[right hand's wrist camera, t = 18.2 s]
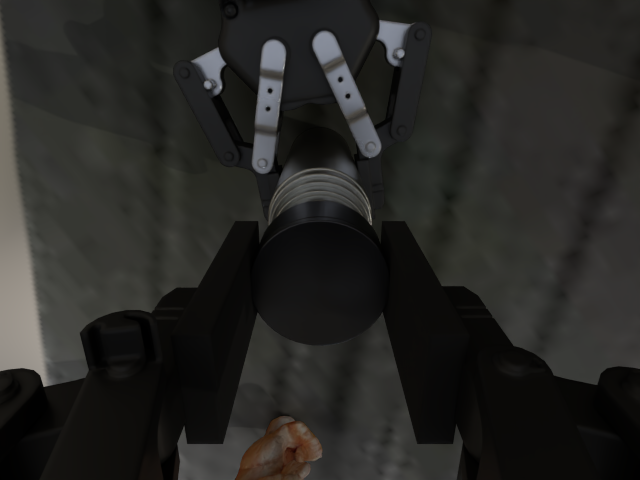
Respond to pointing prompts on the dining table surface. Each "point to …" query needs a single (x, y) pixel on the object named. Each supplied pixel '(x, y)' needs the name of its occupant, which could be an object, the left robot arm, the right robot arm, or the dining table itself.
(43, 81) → the dining table surface
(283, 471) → the orange-brown lumpy piece
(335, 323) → the cap
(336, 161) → the bottle
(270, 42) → the left robot arm
